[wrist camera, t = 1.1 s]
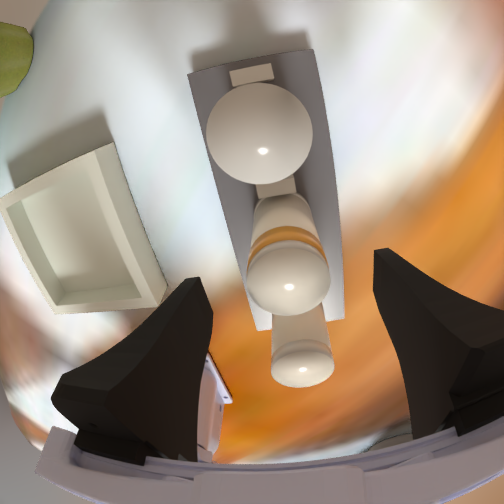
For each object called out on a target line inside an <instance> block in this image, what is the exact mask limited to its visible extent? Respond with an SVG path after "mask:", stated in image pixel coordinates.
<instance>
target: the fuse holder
mask: <svg viewBox="0 0 504 504" xmlns="http://www.w3.org/2000/svg"><path fill="white" fill-rule="evenodd" d="M187 76H188V80H189V84H190V88H191V91H192V95H193V99H194V103H195V107H196V111H197V115H198V119H199V123H200V126H201V130H202V134H203V138H204V142H205V145H206V149H207V153H208V157H209V161H210V164H211V168H212V172H213V176H214V179H215V183H216V187H217V190H218V194H219V198H220V201H221V205H222V209H223V212H224V216H225V220H226V223H227V227H228V230H229V234H230V238H231V241H232V245H233V248H234V252H235V255H236V259H237V262H238V266H239V269H240V273H241V276H242V280H243V283H244V287H245V290H246V294H247V297H248V301H249V304H250V308H251V311H252V315H253V318H254V321H255V325H256V328H257V331H261V330H269V329H272V313H269V312H267V311H265V310H263V309H261V308H260V307H258V306H257V305H256V304H255V303H254V302H253V301H252V299H251V298H250V296H249V294H248V291H247V287H246V280H247V265H248V257H249V252H250V248H251V240H252V231H253V222H254V210H255V206H256V204H257V202H258V200H259V199H260V198H266V197H272V196H278V195H284V194H290V193H296V191H297V192H298V193H300V194H301V195H302V196H303V197H304V198H305V199H306V200H307V202H308V204H309V207H310V210H311V213H312V217H313V220H314V224H315V227H316V230H317V233H318V236H319V240H320V243H321V244H322V246H323V249H324V252H325V256H326V259H327V262H328V266H329V272H330V277H331V284H330V288H329V291H328V293H327V295H326V297H325V298H324V299H323V301H322V304H323V309H324V314H325V319H326V321H333V320H339V319H344V281H343V259H342V243H341V229H340V217H339V206H338V196H337V187H336V178H335V169H334V162H333V154H332V147H331V140H330V133H329V127H328V121H327V115H326V109H325V103H324V98H323V93H322V87H321V82H320V77H319V73H318V68H317V63H316V59H315V54H314V50H313V49H310V50H301V51H293V52H286V53H279V54H273V55H267V56H261V57H256V58H251V59H246V60H241V61H236V62H232V63H228V64H223V65H219V66H215V67H212V68H208V69H204V70H200V71H197V72H194V73H190V74H187ZM251 83H267V84H272V85H276V86H279V87H281V88H284V89H285V90H287V91H289V92H290V93H292V94H293V95H294V96H295V97H296V98H297V99H298V100H299V101H300V102H301V103H302V104H303V106H304V107H305V109H306V110H307V112H308V114H309V117H310V120H311V124H312V130H313V138H312V145H311V148H310V151H309V154H308V156H307V158H306V159H305V161H304V162H303V164H302V165H301V166H300V167H299V168H298V169H297V170H296V171H295V172H294V173H293V174H291V175H290V176H288V177H286V178H284V179H282V180H280V181H277V182H274V183H269V184H251V183H246V182H242V181H240V180H237V179H235V178H233V177H231V176H230V175H228V174H227V173H226V172H224V171H223V170H222V169H221V168H220V167H219V166H218V164H217V163H216V162H215V160H214V159H213V157H212V155H211V153H210V151H209V148H208V145H207V140H206V127H207V122H208V118H209V115H210V113H211V111H212V109H213V107H214V106H215V105H216V103H217V102H218V101H219V100H220V99H221V98H222V97H223V96H224V95H225V94H226V93H228V92H229V91H231V90H233V89H234V88H237V87H239V86H242V85H246V84H251Z"/></svg>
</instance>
